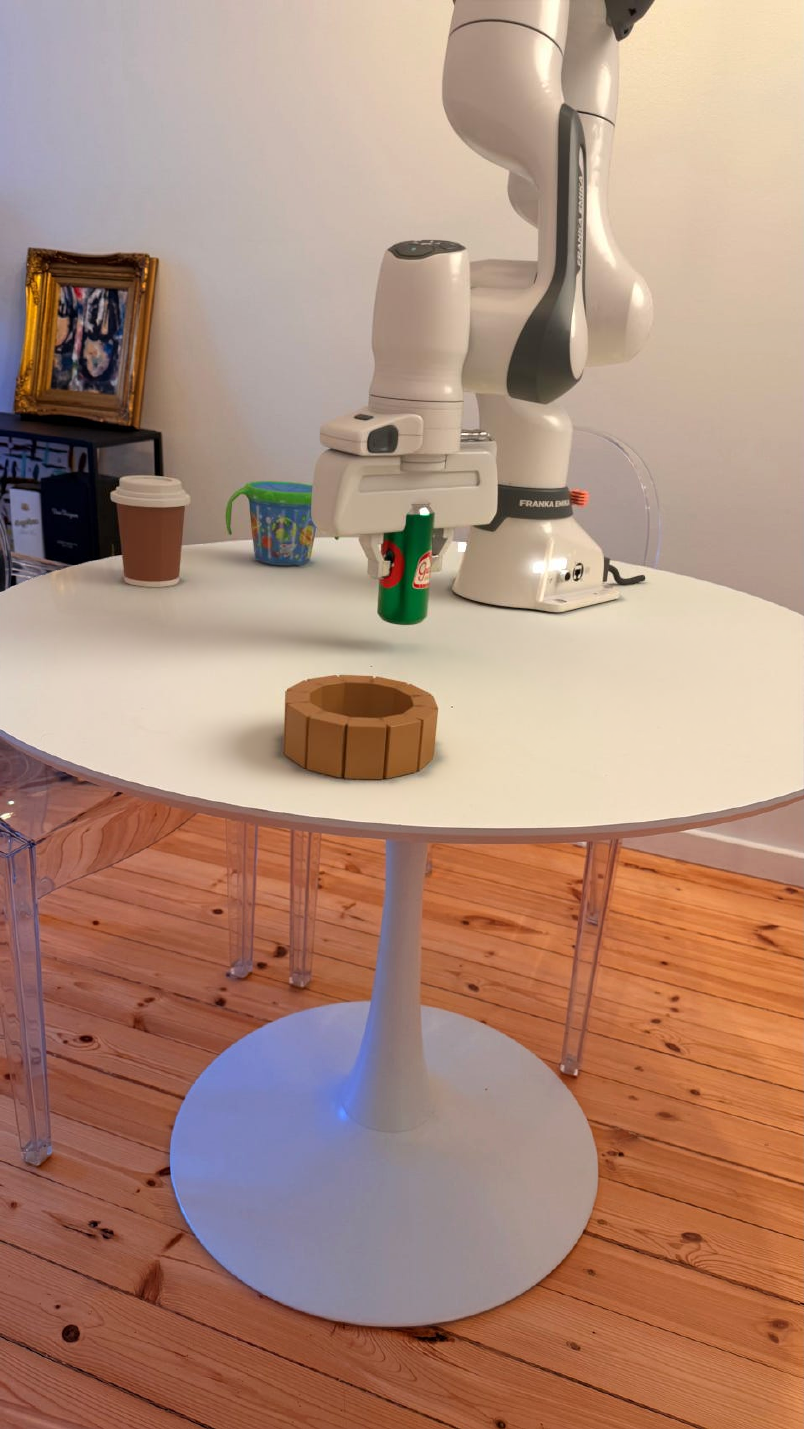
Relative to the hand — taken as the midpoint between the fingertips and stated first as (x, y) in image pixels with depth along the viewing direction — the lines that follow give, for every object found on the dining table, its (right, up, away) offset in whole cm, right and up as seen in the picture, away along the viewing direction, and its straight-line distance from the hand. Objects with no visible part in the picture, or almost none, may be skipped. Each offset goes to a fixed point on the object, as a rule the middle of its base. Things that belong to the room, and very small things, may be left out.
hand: (404, 574), depth 98 cm
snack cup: (-17, +7, +37) cm, 41 cm away
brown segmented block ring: (-4, -16, -23) cm, 29 cm away
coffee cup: (-30, +2, +22) cm, 37 cm away
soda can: (0, -4, +2) cm, 5 cm away
